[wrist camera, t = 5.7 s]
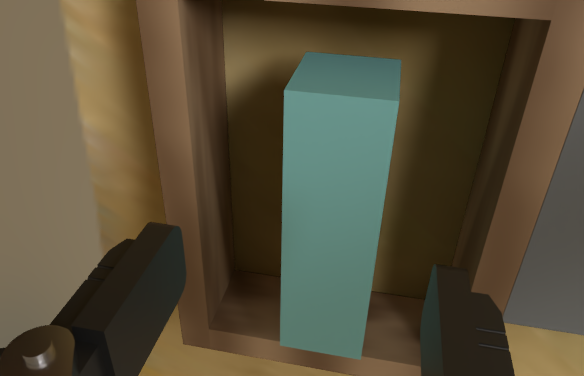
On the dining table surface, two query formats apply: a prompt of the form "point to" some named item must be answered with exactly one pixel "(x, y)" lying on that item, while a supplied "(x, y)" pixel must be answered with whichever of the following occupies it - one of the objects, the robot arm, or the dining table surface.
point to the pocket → (382, 307)
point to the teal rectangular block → (334, 196)
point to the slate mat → (556, 248)
